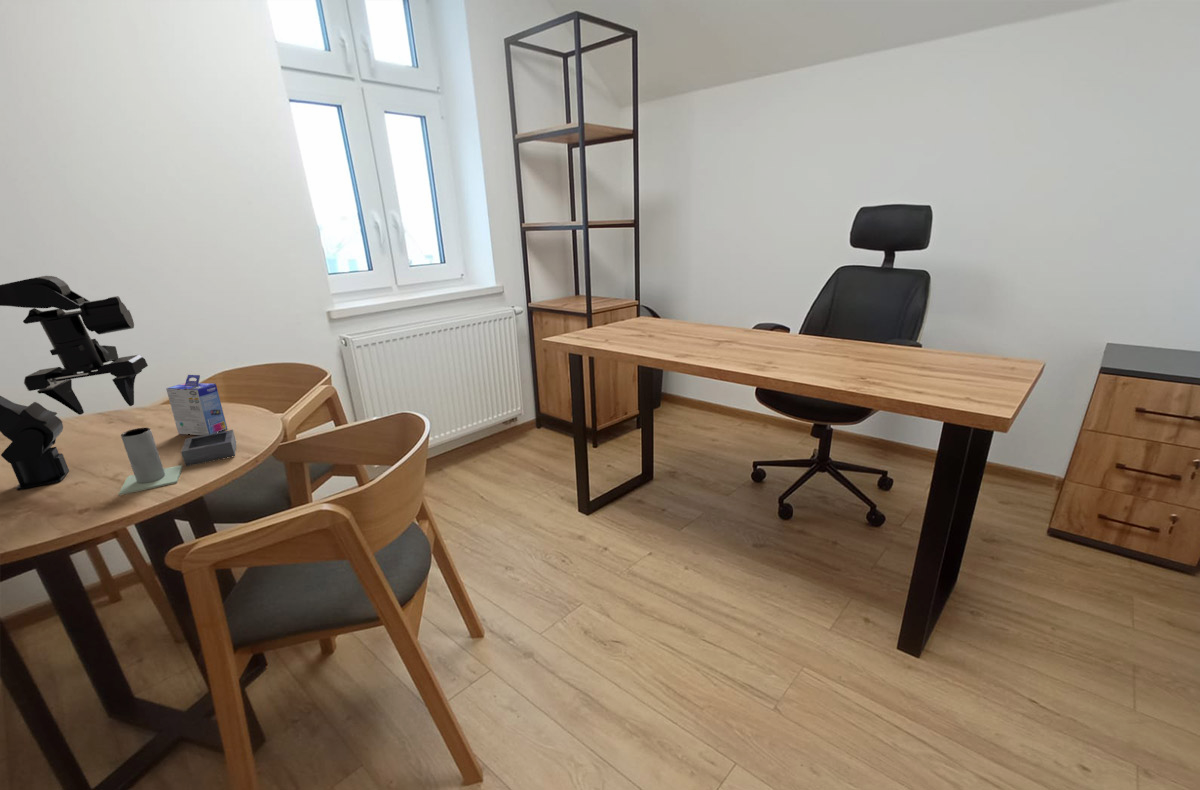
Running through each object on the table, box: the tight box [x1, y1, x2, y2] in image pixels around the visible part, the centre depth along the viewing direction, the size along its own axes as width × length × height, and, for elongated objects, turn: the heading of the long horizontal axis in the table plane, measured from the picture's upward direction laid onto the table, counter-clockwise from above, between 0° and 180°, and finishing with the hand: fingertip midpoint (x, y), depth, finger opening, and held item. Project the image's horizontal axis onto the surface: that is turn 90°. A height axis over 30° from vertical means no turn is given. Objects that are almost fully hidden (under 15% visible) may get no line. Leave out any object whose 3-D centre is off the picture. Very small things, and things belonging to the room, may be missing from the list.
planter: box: [120, 427, 165, 483], centre depth 105 cm, size 4×4×10 cm
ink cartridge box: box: [165, 374, 228, 436], centre depth 130 cm, size 10×6×14 cm, turn 78°
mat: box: [117, 464, 184, 496], centre depth 107 cm, size 9×9×1 cm
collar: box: [180, 429, 237, 467], centre depth 118 cm, size 9×9×4 cm
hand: (107, 409), depth 111 cm, fingers open, 9 cm apart
